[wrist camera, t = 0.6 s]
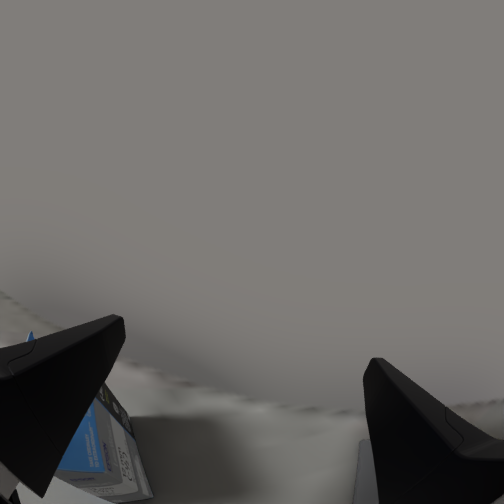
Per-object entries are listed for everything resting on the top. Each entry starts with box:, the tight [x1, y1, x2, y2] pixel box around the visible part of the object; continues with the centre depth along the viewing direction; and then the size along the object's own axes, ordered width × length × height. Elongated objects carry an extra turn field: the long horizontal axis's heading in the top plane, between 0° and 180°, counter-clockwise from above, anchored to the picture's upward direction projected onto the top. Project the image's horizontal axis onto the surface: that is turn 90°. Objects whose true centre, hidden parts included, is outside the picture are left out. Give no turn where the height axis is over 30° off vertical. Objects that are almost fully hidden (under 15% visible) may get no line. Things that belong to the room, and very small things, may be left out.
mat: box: [353, 440, 379, 504], centre depth 11 cm, size 12×12×1 cm
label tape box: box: [26, 331, 153, 503], centre depth 13 cm, size 9×4×12 cm, turn 26°
